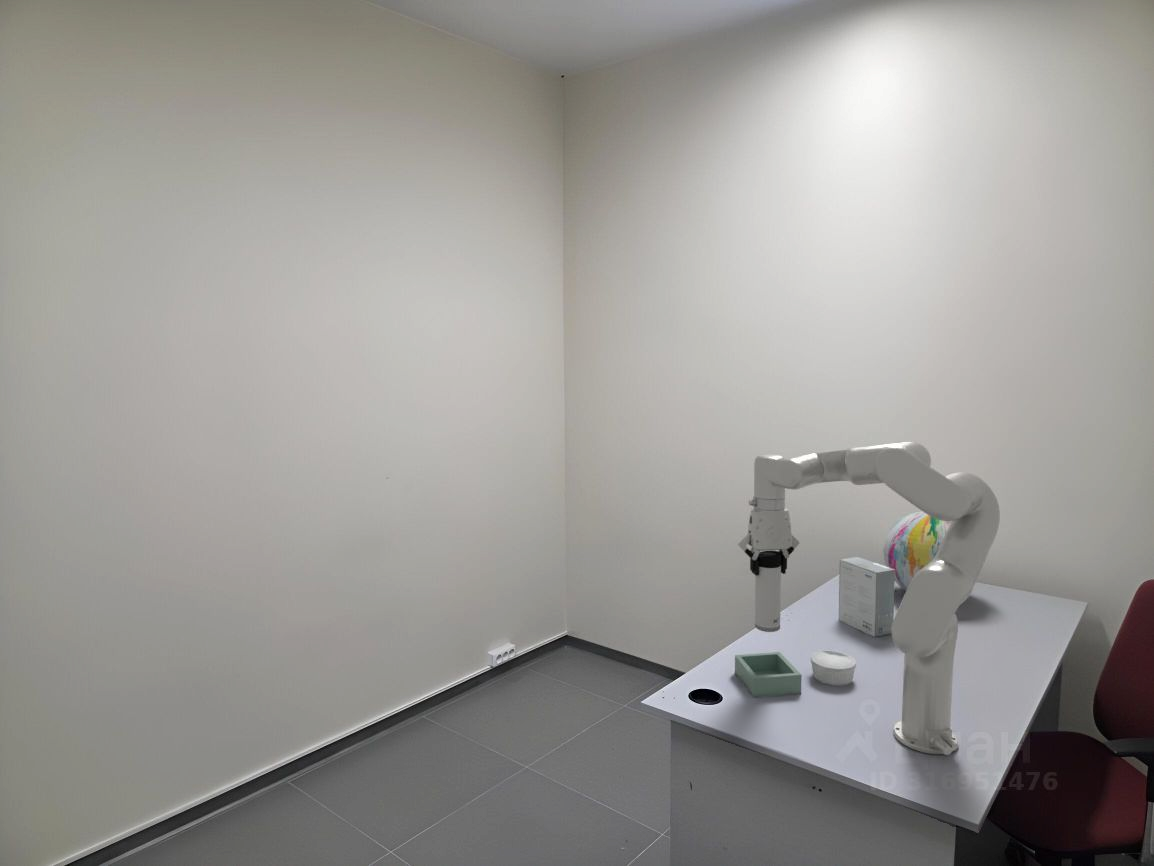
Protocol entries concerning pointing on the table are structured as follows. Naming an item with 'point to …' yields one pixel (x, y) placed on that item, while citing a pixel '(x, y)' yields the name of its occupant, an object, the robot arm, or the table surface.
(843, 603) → the hard drive box
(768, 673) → the tray
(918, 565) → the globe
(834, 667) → the ramekin
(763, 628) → the travel mug
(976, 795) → the table surface
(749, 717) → the table surface
